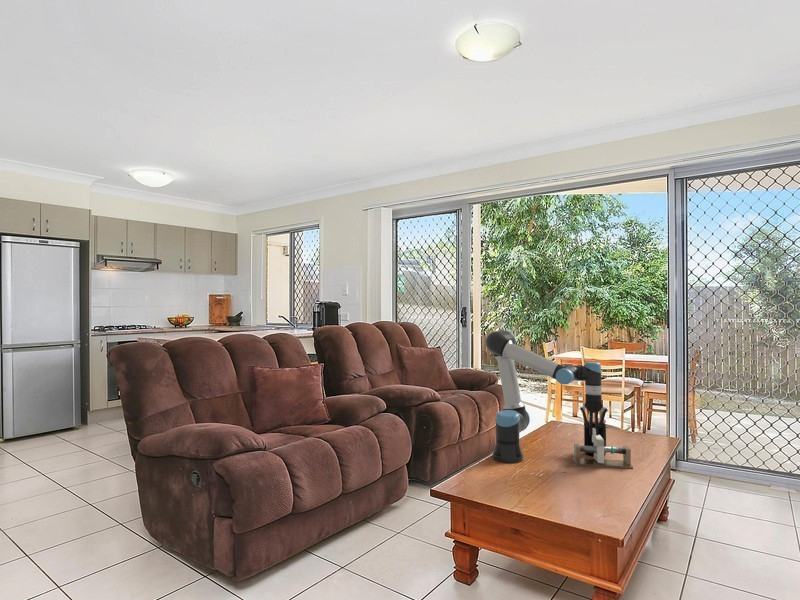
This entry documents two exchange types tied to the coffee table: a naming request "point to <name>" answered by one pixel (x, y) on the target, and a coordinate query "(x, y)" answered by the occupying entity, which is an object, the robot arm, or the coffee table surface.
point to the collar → (599, 449)
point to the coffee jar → (589, 437)
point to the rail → (607, 463)
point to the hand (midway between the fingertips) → (594, 441)
